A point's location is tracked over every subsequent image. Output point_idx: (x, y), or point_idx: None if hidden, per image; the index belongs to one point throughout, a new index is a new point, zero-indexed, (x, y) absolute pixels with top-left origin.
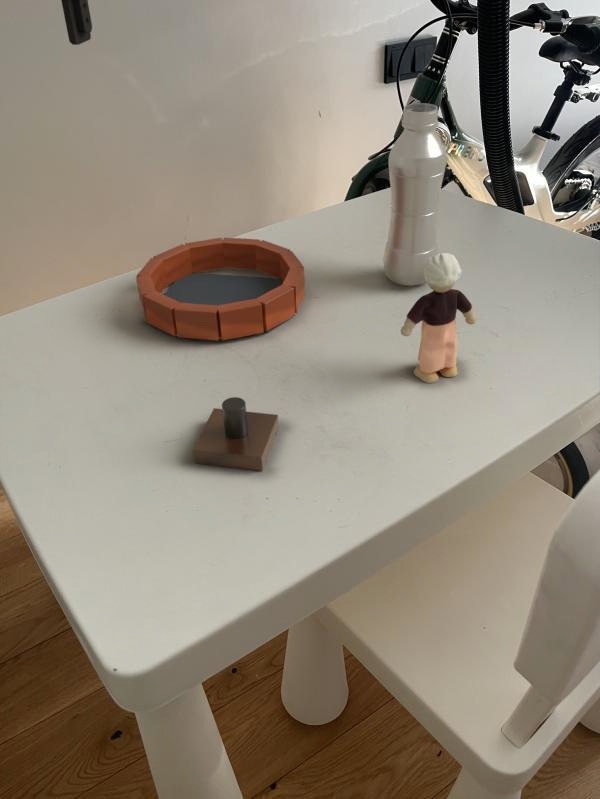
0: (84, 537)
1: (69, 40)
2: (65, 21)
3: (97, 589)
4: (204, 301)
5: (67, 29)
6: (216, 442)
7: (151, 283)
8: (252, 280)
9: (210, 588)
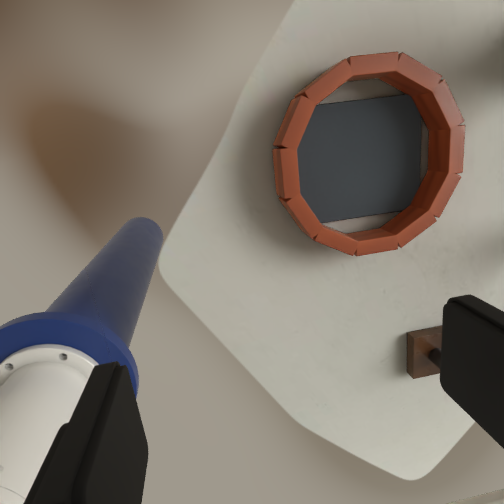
0: (367, 439)
1: (446, 392)
2: (486, 431)
3: (389, 459)
4: (343, 173)
5: (468, 412)
6: (426, 368)
7: (311, 212)
8: (380, 109)
9: (440, 438)
